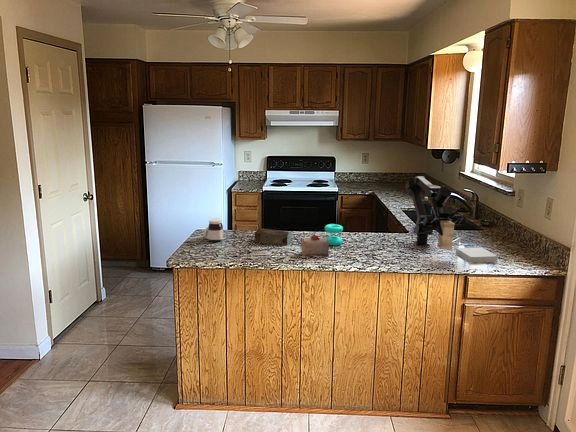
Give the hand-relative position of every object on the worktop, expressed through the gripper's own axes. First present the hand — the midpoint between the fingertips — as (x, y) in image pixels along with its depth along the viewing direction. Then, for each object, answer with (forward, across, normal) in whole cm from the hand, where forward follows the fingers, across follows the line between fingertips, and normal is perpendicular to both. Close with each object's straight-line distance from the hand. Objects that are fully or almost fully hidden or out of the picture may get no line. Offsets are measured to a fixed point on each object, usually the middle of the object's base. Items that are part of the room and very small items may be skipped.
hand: (447, 235), depth 223 cm
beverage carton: (-18, -80, +38) cm, 90 cm away
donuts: (-14, -48, +33) cm, 60 cm away
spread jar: (-23, -113, +42) cm, 123 cm away
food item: (-2, -62, +21) cm, 65 cm away
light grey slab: (+8, +18, +11) cm, 22 cm away
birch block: (+4, 0, +6) cm, 7 cm away
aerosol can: (-30, +15, +49) cm, 60 cm away
